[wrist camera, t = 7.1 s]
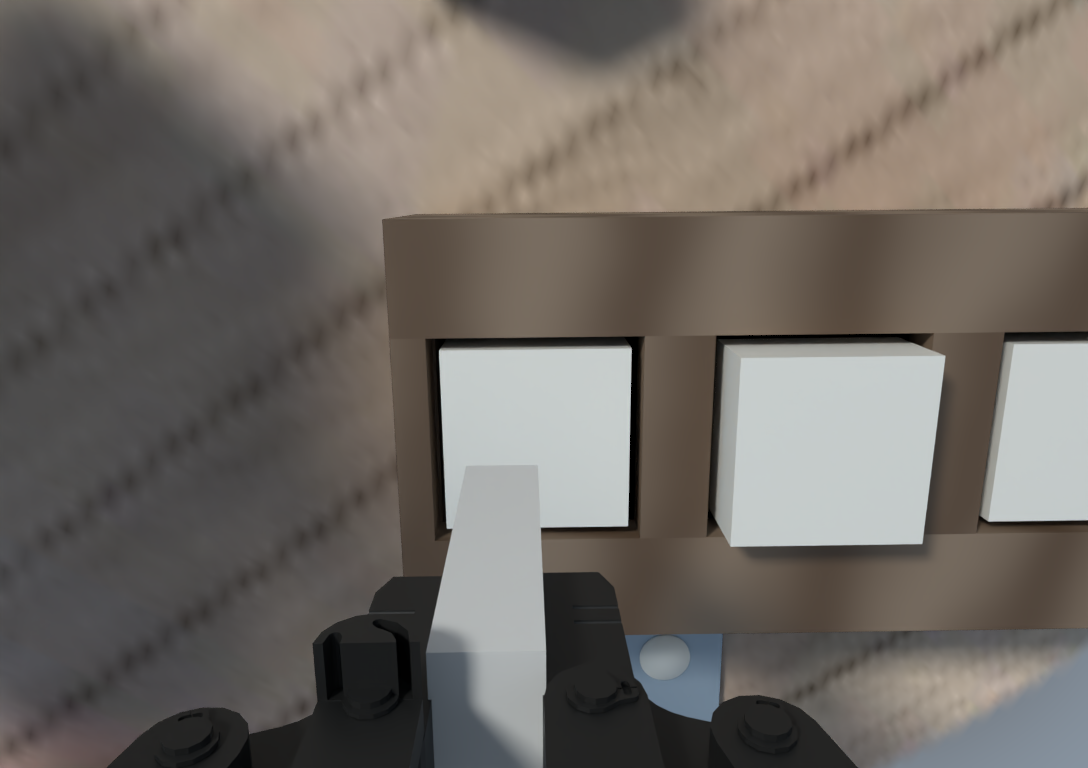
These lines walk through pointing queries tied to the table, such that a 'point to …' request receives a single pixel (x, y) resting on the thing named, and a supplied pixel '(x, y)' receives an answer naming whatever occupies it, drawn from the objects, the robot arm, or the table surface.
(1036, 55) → the table surface
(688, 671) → the pattern card
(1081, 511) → the outer button
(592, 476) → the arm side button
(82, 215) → the table surface
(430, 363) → the button box
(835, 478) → the middle button
